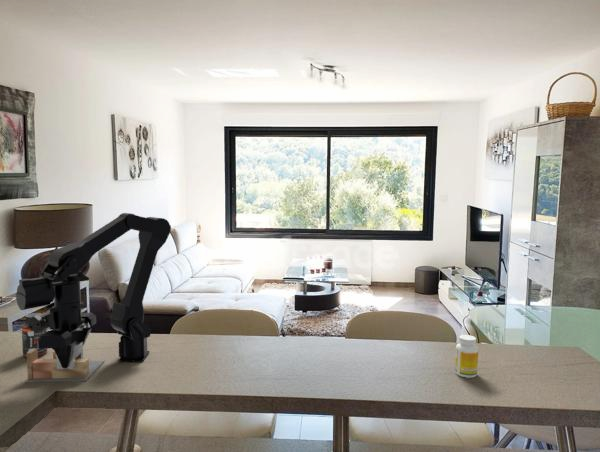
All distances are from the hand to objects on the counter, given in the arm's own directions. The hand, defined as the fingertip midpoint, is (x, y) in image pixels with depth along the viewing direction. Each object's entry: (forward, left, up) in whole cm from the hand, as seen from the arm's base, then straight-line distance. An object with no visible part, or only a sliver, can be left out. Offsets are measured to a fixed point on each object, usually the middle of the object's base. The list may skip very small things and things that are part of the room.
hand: (70, 363), depth 113 cm
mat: (+3, -4, -4) cm, 6 cm away
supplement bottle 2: (-98, +1, -4) cm, 98 cm away
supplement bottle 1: (+17, -15, -4) cm, 23 cm away
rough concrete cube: (0, 0, 0) cm, 0 cm away
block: (+3, -3, -3) cm, 5 cm away
